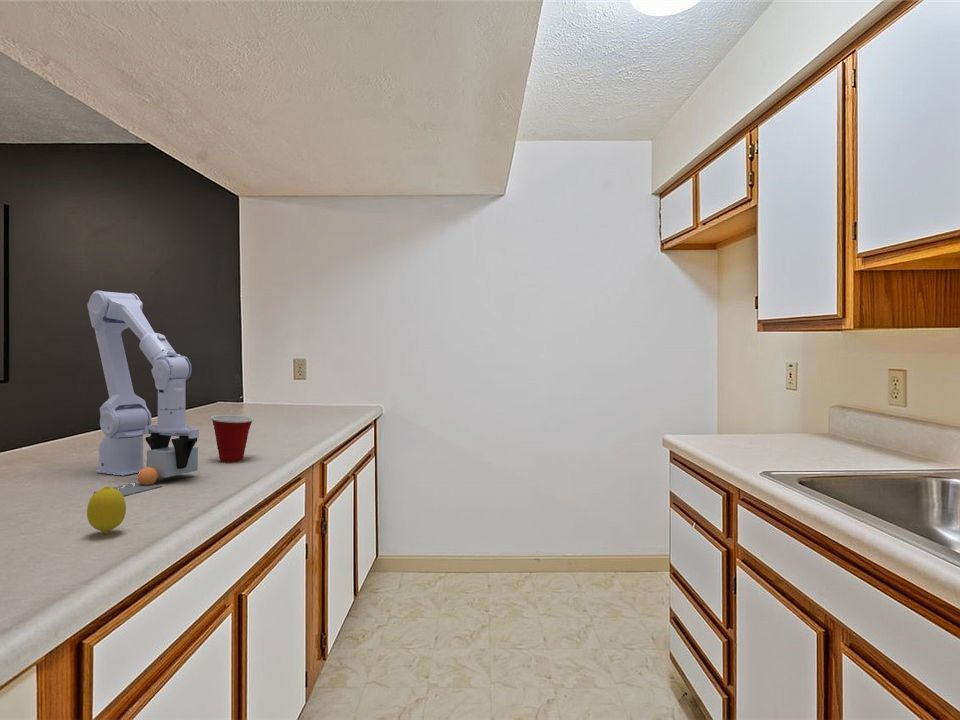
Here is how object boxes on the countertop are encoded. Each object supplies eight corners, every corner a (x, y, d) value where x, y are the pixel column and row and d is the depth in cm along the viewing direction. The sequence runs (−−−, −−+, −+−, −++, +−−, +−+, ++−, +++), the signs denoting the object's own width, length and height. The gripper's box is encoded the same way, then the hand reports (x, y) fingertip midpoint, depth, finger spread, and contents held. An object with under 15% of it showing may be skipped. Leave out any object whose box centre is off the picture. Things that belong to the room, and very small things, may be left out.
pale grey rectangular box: (146, 475, 136) (146, 450, 136) (179, 468, 145) (179, 445, 145) (165, 477, 134) (165, 452, 134) (197, 470, 143) (197, 447, 143)
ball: (148, 481, 136) (133, 486, 132) (148, 464, 136) (133, 468, 132) (162, 484, 135) (146, 488, 131) (162, 466, 135) (146, 470, 131)
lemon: (98, 528, 103) (98, 482, 103) (132, 528, 103) (132, 482, 103) (79, 539, 97) (79, 490, 97) (115, 538, 98) (115, 490, 98)
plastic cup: (238, 465, 156) (238, 419, 156) (201, 463, 158) (201, 417, 158) (261, 457, 167) (262, 414, 166) (226, 455, 169) (227, 413, 168)
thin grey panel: (93, 493, 126) (93, 492, 126) (135, 483, 135) (135, 482, 135) (120, 497, 123) (120, 496, 123) (161, 486, 132) (161, 485, 132)
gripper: (209, 408, 140) (209, 466, 140) (163, 405, 145) (162, 461, 146) (184, 411, 133) (184, 472, 134) (137, 408, 139) (137, 466, 139)
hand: (171, 466), depth 139 cm, fingers closed on pale grey rectangular box, 6 cm apart
